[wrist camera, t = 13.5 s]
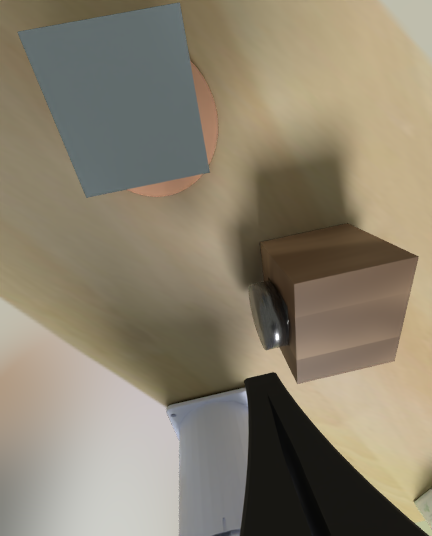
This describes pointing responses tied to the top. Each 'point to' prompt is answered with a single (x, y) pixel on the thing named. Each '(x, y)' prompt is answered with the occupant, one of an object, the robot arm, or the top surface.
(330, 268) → the rod housing
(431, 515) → the syrup box
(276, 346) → the rod
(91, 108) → the block
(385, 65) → the top surface
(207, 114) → the plate
